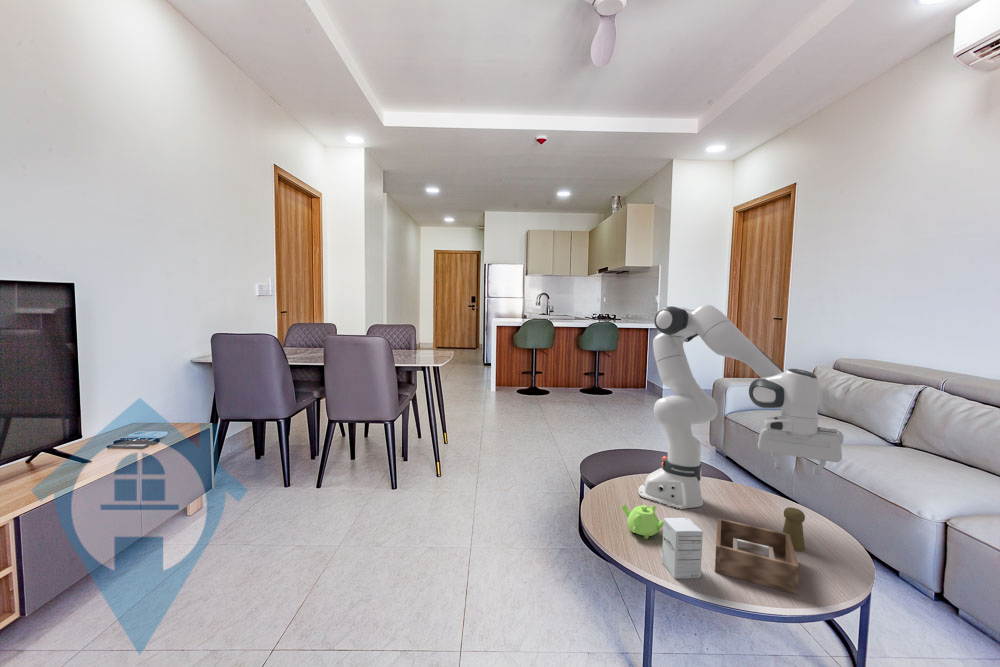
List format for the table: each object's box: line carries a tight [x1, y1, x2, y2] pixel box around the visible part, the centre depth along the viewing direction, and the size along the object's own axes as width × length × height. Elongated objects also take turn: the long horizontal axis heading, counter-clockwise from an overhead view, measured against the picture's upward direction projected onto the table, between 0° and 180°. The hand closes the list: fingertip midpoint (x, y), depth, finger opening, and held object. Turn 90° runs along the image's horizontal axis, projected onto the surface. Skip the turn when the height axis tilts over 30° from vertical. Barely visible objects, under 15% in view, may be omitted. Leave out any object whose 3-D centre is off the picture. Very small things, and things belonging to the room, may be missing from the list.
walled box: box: [714, 517, 800, 595], centre depth 115 cm, size 18×18×7 cm
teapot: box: [620, 504, 664, 539], centre depth 131 cm, size 11×12×8 cm
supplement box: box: [661, 517, 704, 579], centre depth 111 cm, size 7×7×13 cm
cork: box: [782, 506, 806, 552], centre depth 125 cm, size 6×6×11 cm
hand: (796, 471), depth 124 cm, fingers open, 8 cm apart
